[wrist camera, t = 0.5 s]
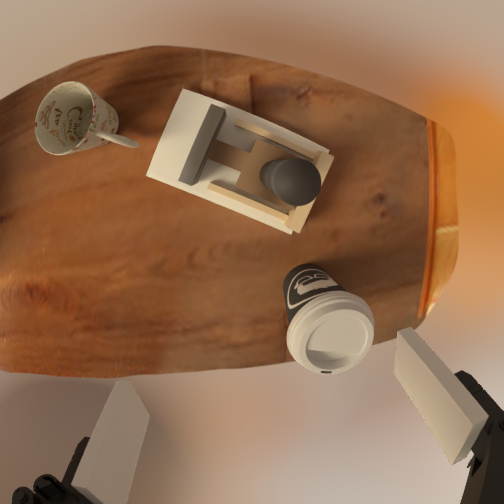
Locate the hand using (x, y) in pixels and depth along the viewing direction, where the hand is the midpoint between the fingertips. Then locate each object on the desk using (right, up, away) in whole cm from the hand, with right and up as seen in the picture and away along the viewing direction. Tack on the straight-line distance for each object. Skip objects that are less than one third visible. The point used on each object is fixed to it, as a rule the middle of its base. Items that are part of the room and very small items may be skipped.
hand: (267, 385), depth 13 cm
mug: (-19, +22, +21) cm, 37 cm away
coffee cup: (+7, +1, +29) cm, 30 cm away
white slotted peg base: (-3, +18, +24) cm, 30 cm away
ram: (-1, +17, +22) cm, 28 cm away
